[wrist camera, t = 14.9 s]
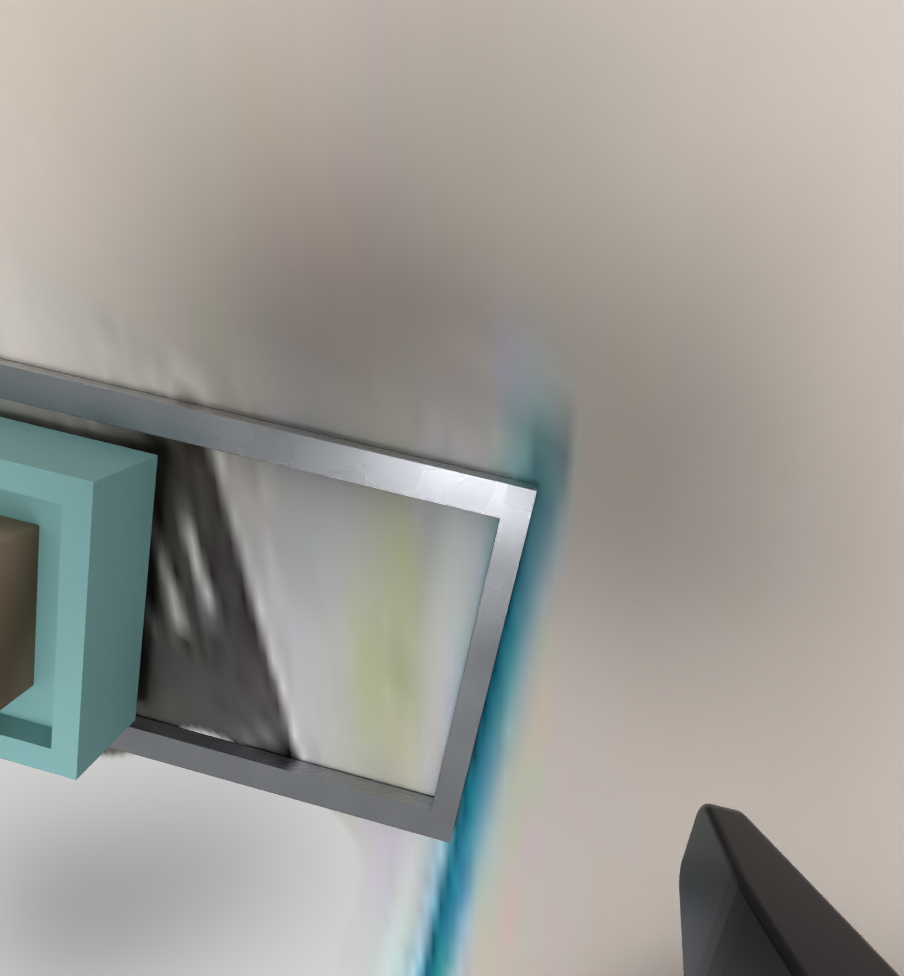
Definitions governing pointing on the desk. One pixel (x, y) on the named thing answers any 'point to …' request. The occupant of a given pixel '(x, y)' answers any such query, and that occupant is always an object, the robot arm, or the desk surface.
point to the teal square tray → (78, 591)
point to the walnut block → (17, 606)
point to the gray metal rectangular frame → (344, 464)
